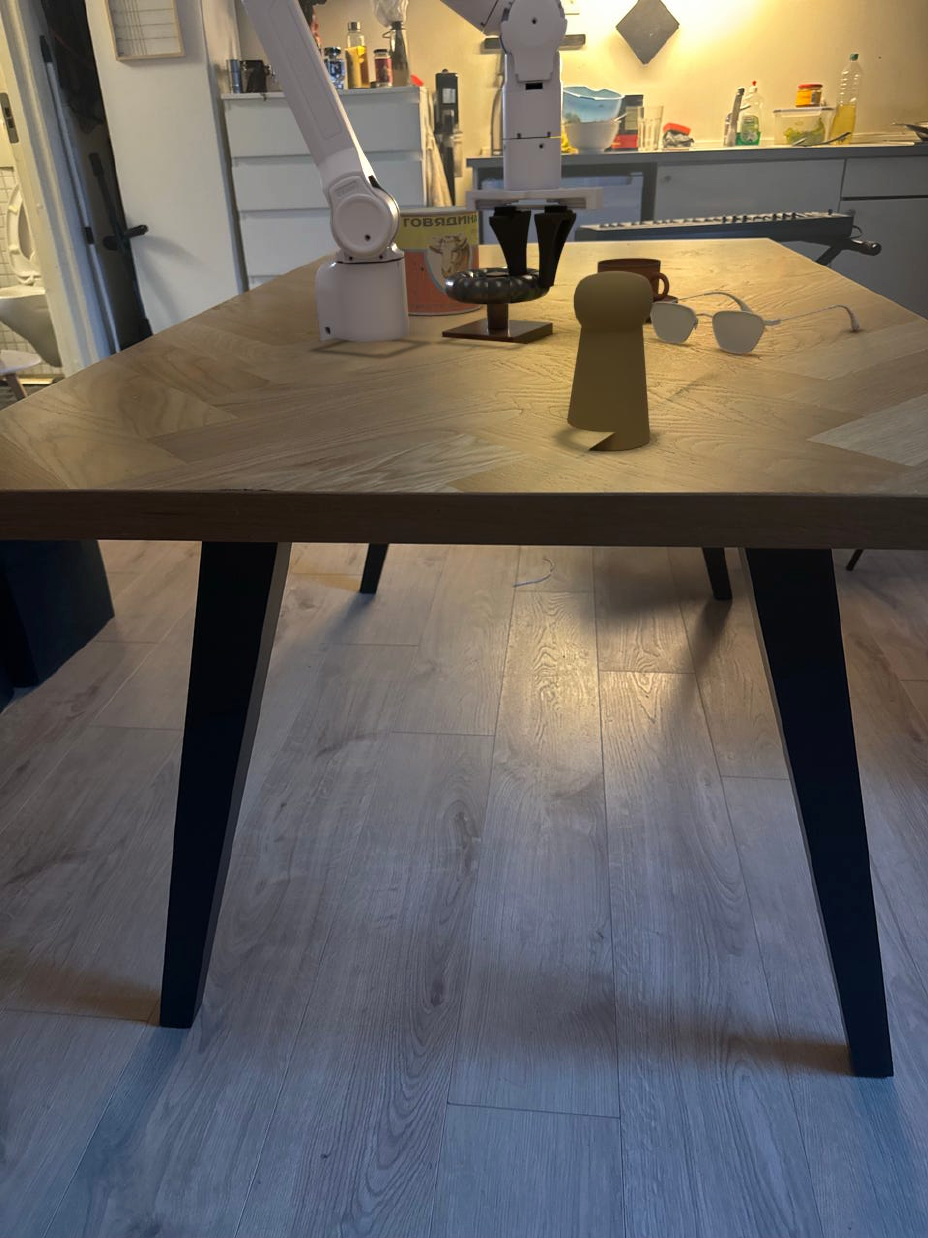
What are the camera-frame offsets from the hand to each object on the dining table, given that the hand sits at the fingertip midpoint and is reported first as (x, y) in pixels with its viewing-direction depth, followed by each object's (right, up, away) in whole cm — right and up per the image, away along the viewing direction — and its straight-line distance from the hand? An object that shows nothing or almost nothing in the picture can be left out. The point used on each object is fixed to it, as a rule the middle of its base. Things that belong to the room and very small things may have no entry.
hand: (532, 286), depth 90 cm
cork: (+3, -22, -29) cm, 37 cm away
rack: (-3, -4, +5) cm, 7 cm away
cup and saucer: (+12, +1, +13) cm, 18 cm away
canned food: (-11, +7, +25) cm, 27 cm away
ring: (-4, +1, +2) cm, 4 cm away
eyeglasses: (+24, -5, +1) cm, 24 cm away
